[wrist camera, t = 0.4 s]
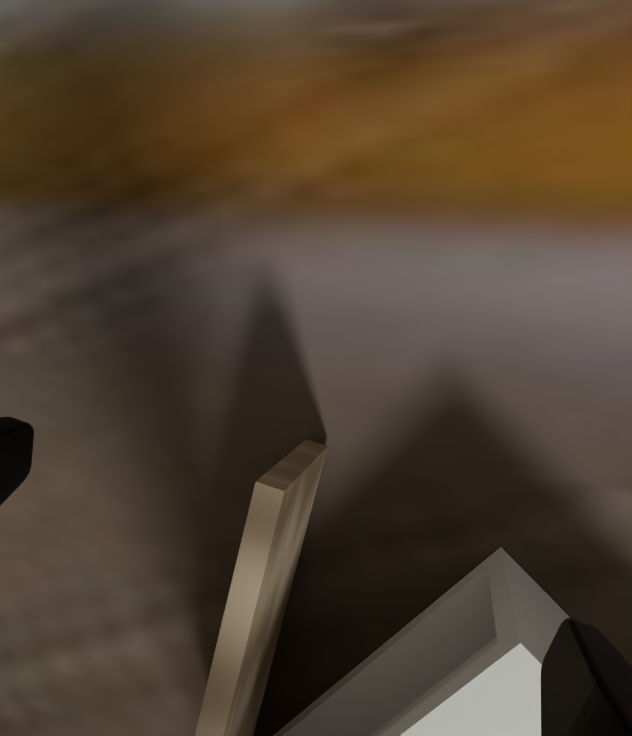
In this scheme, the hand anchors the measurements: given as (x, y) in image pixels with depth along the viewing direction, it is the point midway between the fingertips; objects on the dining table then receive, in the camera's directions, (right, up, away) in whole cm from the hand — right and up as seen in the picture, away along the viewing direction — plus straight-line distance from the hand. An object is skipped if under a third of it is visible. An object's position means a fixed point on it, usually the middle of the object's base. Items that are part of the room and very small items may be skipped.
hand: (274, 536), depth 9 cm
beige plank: (-1, -8, +16) cm, 18 cm away
